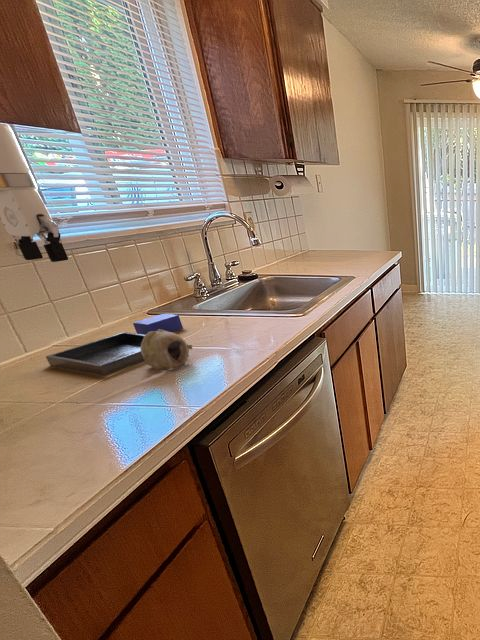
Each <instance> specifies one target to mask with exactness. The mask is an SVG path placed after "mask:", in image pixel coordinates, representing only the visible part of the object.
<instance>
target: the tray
mask: <svg viewBox="0 0 480 640" xmlns="http://www.w3.org/2000/svg"><path fill="white" fill-rule="evenodd" d="M144 336H145V335H144V334H137V332H129V331H123V332H122V331H121V332H120V333H117V334H114V335H113V334H112V335H110V336H106V337H103V338H100V339H97V340H94V341H90V342H88V343H83V344H81V345H77V346H75V347H71V348H68V349H65V350H62V351H58V352H55V353H52V354H48V355H46V356H45V358H46V360H47V363H48V364H49V366H50V367H53V368H59V369H64V370H70V371H76V372H81V373H87V374H91V375H97V376H102V377H106V376H108V375H112V374H113V373H117V372H120V371H121V370H124V369H127V368H129V367H132V366H134V365H138V364H140V363H143V362H146V361H145V360H144V359H143V357H142V354H141V343H142V341H143V338H144Z"/></svg>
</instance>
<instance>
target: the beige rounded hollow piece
mask: <svg viewBox="0 0 480 640" xmlns="http://www.w3.org/2000/svg"><path fill="white" fill-rule="evenodd" d="M193 347H194V346H193V345H192V344H188V343H187V342H186V340H184V338H183V337H182V336H180V335H179V334H177V333H174V332H168V331H164V330H161V329H158V331H150V332H148V333H147V334H146V335H145V336H144V338H143V341H142V343H141V354H142V357H143V359H144V360H145V361H144V362H145V363H146V364H147V365H148V366H149V367H151V368H152V369H154V370H156V371H159V370H164V371H173V370H178V369H179V368H180V367H183V366H185V364H186V362H187V360H188V358H189V356H190V355H189V352H190V350H192V349H193Z"/></svg>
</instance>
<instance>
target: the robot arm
mask: <svg viewBox="0 0 480 640" xmlns="http://www.w3.org/2000/svg"><path fill="white" fill-rule="evenodd" d="M38 190H39V188H38V185H37V183H36V181H35V178H34V176H33V174H32V171H31V169H30V167H29V164H28V162H27V160H26V158H25V156H24V154H23V151H22V149H21V146H20V145H19V142H18V140H17V138H16V135H15V132H14V131H13V129H12V128H11V126H10V125H9V124H8V123H7V124H0V220H1V222H2V224H3V227H4V229H5V231H6V233H7V234H9V235H11V236H12V237H13V238H14V242H15V243H16V244H17V246H18V248H19V250H20V252H21V254H22V256H23V258H24V260H25V261H33V260H40V259H43V258H44V256H43V254H42V252H41V250H40V247H39V244H37V241H34V236H35V235H36V236H37V237H38V238H39V239H40V240H41V241H42V242H43V247H44V249H45V252H46V255H47V256H48V258H49V261H50V262H51V263H58V262H63V261H68V260H69V257H68V254H67V252H66V250H65V247H64V246H63V240H62V238H61V233H60V229H59V225H58V224H57V222H55V221H53V218H52V215H51V214H50V212H49V210H48V208H47V206H46V204H45V202H44V201H43V199H42V197H41V195H40V193H39V191H38Z"/></svg>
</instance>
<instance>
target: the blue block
mask: <svg viewBox="0 0 480 640" xmlns="http://www.w3.org/2000/svg"><path fill="white" fill-rule="evenodd" d="M132 325H133V328H134V329H135V333H136V334H144V335H146V334H147V333H148V332H150V331H158V329H161V330H164V331H168V332H172V333H174V332H177V331H180V330H184V327H183V324H182V321H181V318H180V315H179V314H174V313H173V314H172V313H161V314H157V315H155V316H150V317H147V318H144V319H141V320H137V321H134V322H132Z"/></svg>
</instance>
